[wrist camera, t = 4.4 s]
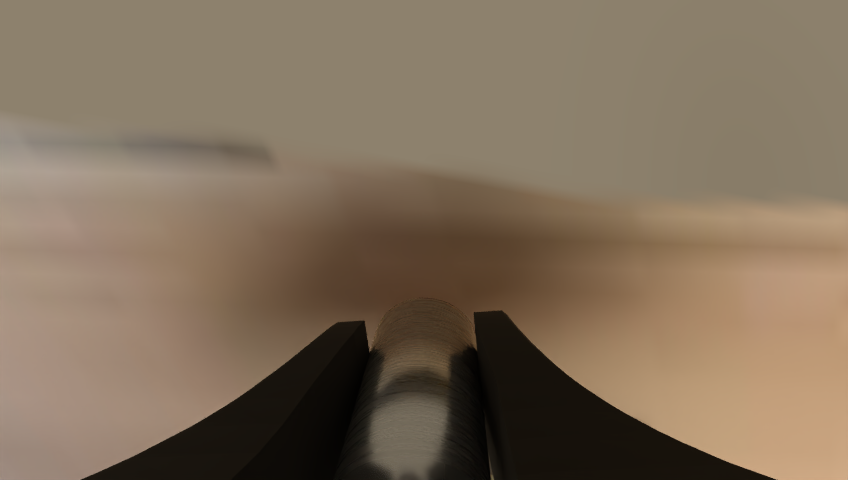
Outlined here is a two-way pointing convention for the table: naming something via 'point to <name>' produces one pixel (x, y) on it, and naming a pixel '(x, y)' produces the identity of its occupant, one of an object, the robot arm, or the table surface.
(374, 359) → the sliding block with knob
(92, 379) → the table surface
